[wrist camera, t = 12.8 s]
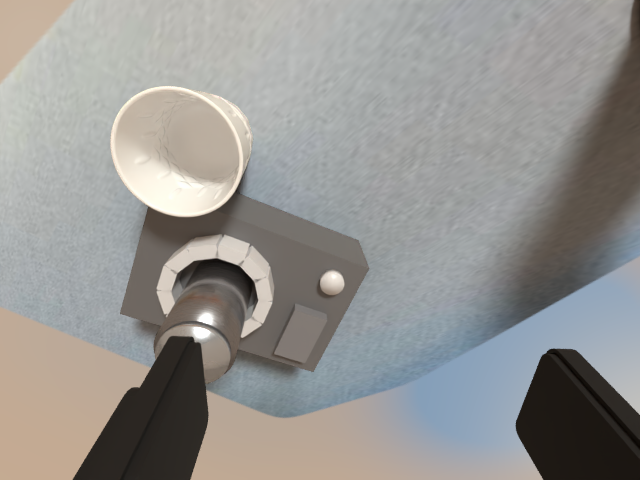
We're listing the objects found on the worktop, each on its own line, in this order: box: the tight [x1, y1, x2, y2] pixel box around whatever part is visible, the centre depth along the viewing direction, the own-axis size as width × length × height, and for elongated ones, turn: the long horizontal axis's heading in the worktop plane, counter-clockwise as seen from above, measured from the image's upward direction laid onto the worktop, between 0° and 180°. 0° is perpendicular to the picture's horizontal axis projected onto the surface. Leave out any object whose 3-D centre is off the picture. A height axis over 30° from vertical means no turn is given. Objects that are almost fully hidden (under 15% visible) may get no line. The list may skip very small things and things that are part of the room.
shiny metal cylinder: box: [154, 258, 253, 384], centre depth 25 cm, size 5×5×9 cm
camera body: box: [120, 192, 369, 372], centre depth 32 cm, size 18×12×8 cm, turn 67°
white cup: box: [111, 86, 253, 217], centre depth 26 cm, size 8×8×10 cm
